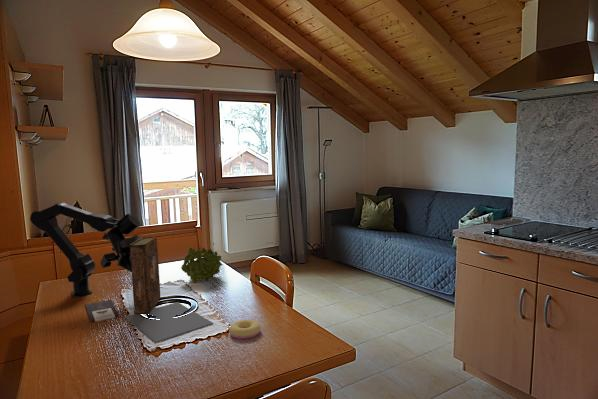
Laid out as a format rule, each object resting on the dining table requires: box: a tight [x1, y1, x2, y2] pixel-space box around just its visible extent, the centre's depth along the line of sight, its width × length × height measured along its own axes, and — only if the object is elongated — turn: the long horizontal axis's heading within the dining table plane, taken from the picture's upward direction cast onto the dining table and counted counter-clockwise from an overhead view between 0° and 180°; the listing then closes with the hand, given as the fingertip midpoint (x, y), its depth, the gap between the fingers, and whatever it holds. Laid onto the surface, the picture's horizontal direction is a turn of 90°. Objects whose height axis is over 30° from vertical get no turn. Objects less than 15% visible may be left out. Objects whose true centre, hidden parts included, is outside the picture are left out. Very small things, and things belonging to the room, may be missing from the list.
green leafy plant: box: [180, 247, 223, 284], centre depth 185 cm, size 18×16×16 cm
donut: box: [228, 319, 262, 340], centre depth 132 cm, size 10×5×9 cm
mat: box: [124, 301, 214, 344], centre depth 142 cm, size 26×20×1 cm
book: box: [130, 236, 161, 315], centre depth 153 cm, size 16×6×25 cm, turn 5°
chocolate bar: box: [85, 299, 120, 324], centre depth 150 cm, size 9×1×18 cm
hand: (135, 273), depth 159 cm, fingers closed
